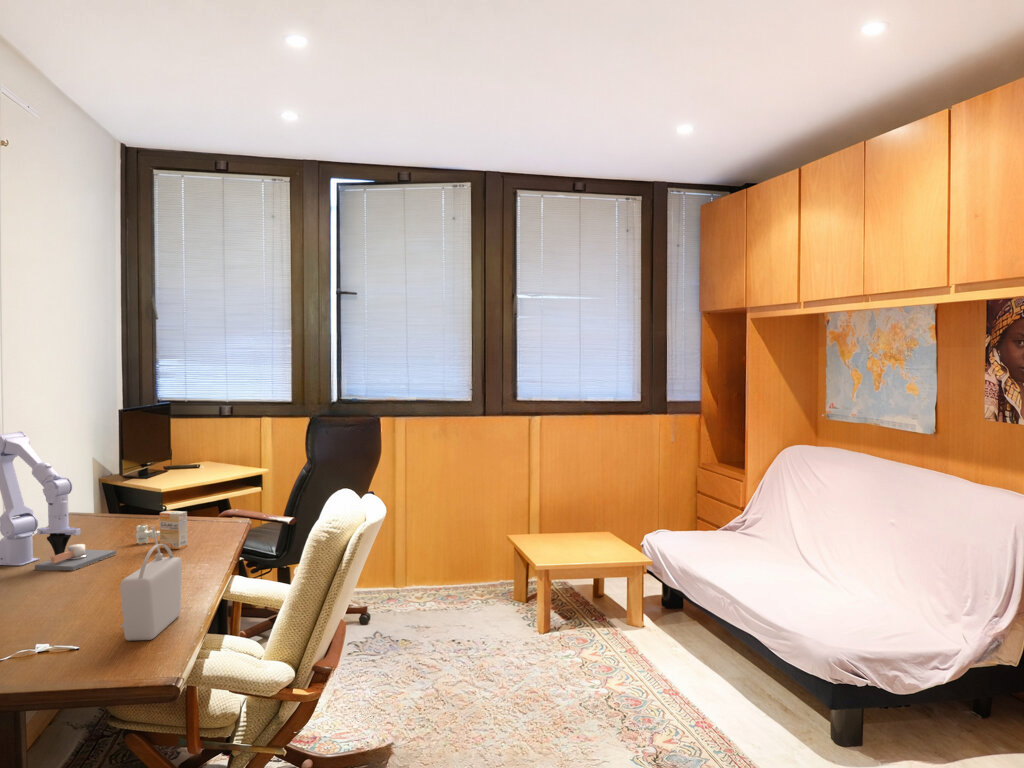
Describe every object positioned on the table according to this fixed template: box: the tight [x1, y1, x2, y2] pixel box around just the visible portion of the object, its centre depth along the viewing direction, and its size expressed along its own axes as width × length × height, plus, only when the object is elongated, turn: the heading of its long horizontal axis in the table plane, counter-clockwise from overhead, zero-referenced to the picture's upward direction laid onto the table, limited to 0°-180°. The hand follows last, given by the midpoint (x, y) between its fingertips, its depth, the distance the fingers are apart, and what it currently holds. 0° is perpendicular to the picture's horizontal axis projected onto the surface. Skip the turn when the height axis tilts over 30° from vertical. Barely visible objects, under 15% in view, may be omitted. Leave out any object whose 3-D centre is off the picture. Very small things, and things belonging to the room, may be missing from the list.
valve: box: [135, 524, 160, 544], centre depth 274 cm, size 7×7×12 cm
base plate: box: [34, 549, 117, 571], centre depth 247 cm, size 14×20×2 cm
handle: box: [50, 543, 86, 563], centre depth 243 cm, size 13×5×3 cm, turn 171°
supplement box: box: [159, 510, 188, 550], centre depth 265 cm, size 8×5×13 cm, turn 76°
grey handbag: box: [119, 525, 183, 642], centre depth 183 cm, size 22×8×25 cm, turn 4°
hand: (59, 556), depth 242 cm, fingers closed
